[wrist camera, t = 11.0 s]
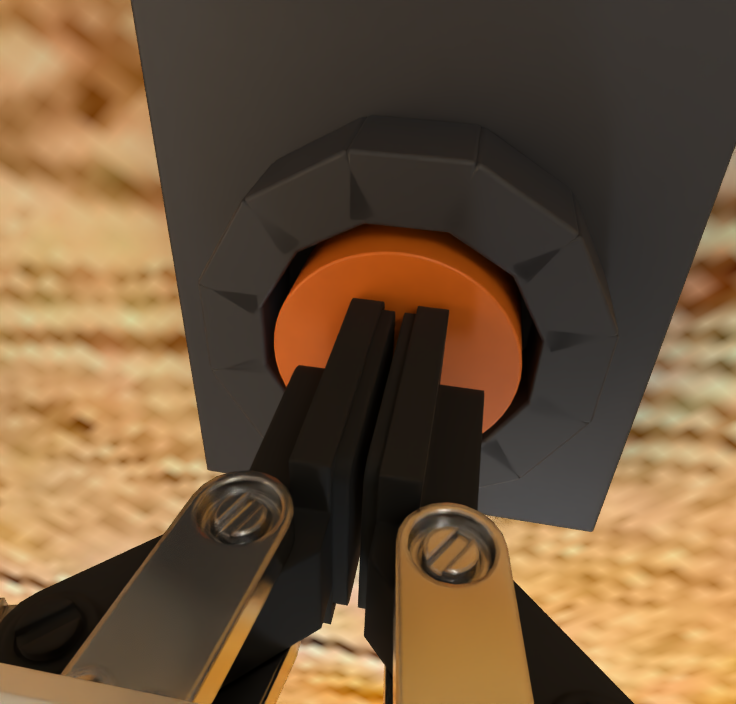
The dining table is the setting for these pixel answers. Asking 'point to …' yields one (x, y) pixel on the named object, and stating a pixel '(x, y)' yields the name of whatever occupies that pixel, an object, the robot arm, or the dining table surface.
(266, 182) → the block
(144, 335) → the dining table surface
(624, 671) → the dining table surface
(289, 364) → the button
